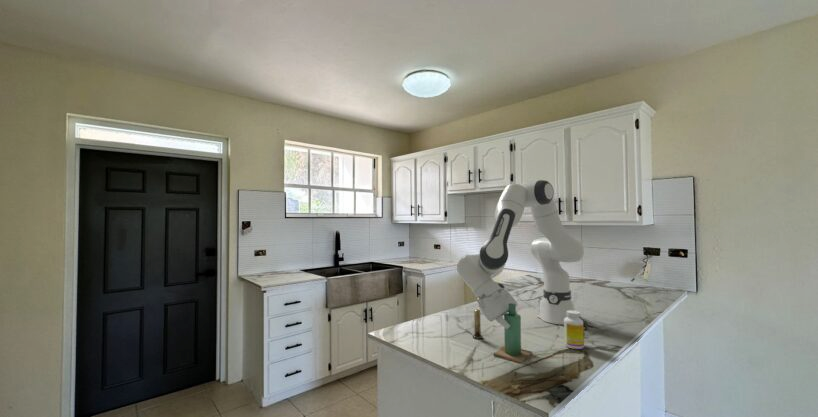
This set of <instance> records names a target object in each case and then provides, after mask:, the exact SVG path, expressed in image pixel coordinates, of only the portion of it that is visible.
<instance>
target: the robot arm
mask: <svg viewBox="0 0 818 417" xmlns="http://www.w3.org/2000/svg"><path fill="white" fill-rule="evenodd" d="M554 191H555V190H554V187H553V185H552V184H551V183H550V182H549V181H547V180H543V179H541V180H540V179H539V180H534V181H525V182H521V183H510V184H508V185H505V188H504V189H503V191H501V192H502V193H501V194H500V196H499V199H498V201H497V204H496V206H495V211H494V221H495V223H494V226H493V228H492V232H491V235H490V237H489V238H488V239H487V240H486V241H485V242H484V243H483V244H482V245H481V247H480V249H479V253H478V254H469V253H467V254H465V255H464V256H462V257H461V258H460V259H459V261H458V263H457V265H456V271H457V273H458V274H459V276H460V277H461V279H462V280H463V282H464V283H465V284H466V285H467V286H468V287H469V288H470V289H471V291H472V293H473V295H474V296H475V297H476V302H477V304H478V308H479V310H480V312H482V314H483V315H484V317H485V318H486V319H487V321H489V322H491V323H492V322H494V321H496V322H497V323H498V324H500V325H501V326H503V328H504V327H505V329H508V328H509V327H510V326H511V325H510V324H509V322H508V321H506V320H504V314H507V313H509V303H514V304H516V307H518V303H517V301H516V299H515V298H514V297H513V295H512V294H511V293H510V292H509V291H508V290H507V289H506V286H505V285H504V283H499V282H497V281H494V279H493V278H495V277H497V276H499V275H500V274H502V272H503V271H504V268H505V266H506V263H507V261H508V258H509V249H508V240H509V237H510V234H511V230H512V229H513V227H516V226H517V225H518V224H519V223H520V221H521V219H522V217H523V214H524V211H525V208H530V212H531V215H532V218H533V222H534V225H535V228H536V231H537V233H540V234H541V235H542V236H544V237H541V238H536V239H533V241H532V242H531V244H530V253H531V254H532V256H533V257H534V258H535V259H537V262H538V263H539V264H540V267H541V269H542V274H543V284H544V285H543V287H544V289H543V290H542V291H543V292H542V294H543V298H542V299H541V300H540V303H539V304H540V306H539V307H540V309H539V314H536V317H537V318H539V319H540V320H542V321H543V322H545V323H549V324H553V325H563V326H564V319H565V318H566V317H567V311H569V310H572V311H576V310H575V306H576V305H575V303H574V302H573V301H572V291H571V289H570V288H571V287H570V274H569V273H568V271H566V270H565V269H563V267H562V265H561V264H560V262H561V263H568V264H569V263H577V262H580V261H581V260H582V258H583V257H584V254H585V249H584V246H583V244H582V243H581V241H579V240H577V239H575V238H574V237H573V236H571V234H570V233H569V232H568V231H567V230H566V228H565V227H564V226H563V224H562V221H561V218H560V214H559V213H558V209H557V206H556V204H555V200H554V195H555V193H554ZM516 314H518V315H519V313H518V311H517V310H516Z"/></svg>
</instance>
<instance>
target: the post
mask: <svg viewBox="0 0 818 417" xmlns="http://www.w3.org/2000/svg"><path fill="white" fill-rule="evenodd" d="M473 314H474V315H473V316H474V317H473V318H474V321H473V322H474V334H472V339H475V340H482V339H483V335H482V334H481V331H482V329H481V309H478V308H477V309H474V313H473Z"/></svg>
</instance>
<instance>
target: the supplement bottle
mask: <svg viewBox="0 0 818 417" xmlns="http://www.w3.org/2000/svg"><path fill="white" fill-rule="evenodd" d="M563 329H564V330H563V332H564V334H563V337H564V338H563V339H564V340H563V341H564V346H566V347H567V348H570V349H573V350H582V349H583V348H584V347H585V336H584V335H585V332H584V331H585V329H584V321H583V319H582V318H581V312H580V311H577V310H575V311H572V310H569V311H567V317H566V318H565V319H564V325H563Z"/></svg>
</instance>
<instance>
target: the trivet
mask: <svg viewBox="0 0 818 417" xmlns="http://www.w3.org/2000/svg"><path fill="white" fill-rule="evenodd" d="M532 354H533V351H531V350H527V349H523V348H521V355H517V356H513V355H509V354H506V353H505V345H503V346H502V347H500V348H498V349H497V351H495V352H493V357H497V358H499V359H500V358H501V359H504V360H507V361H513V362H515V363H518V364H523V363H524V362H526V360H527V359H528V358H529V357H531V355H532Z"/></svg>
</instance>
